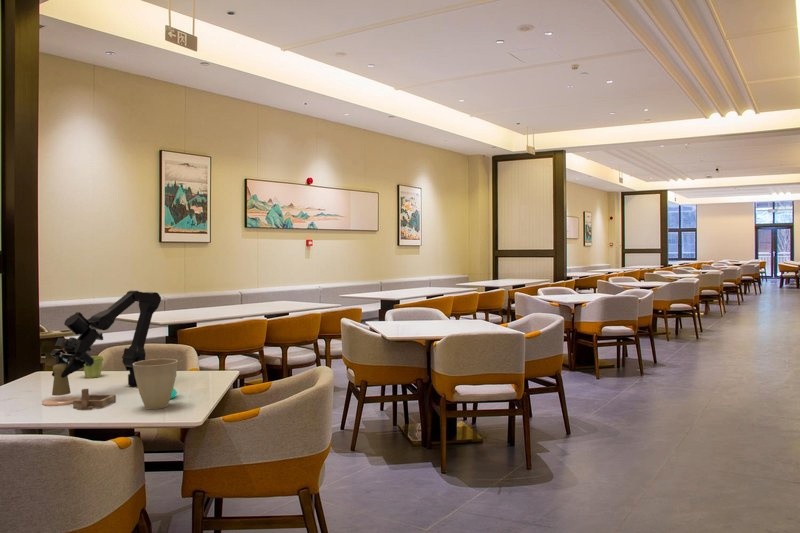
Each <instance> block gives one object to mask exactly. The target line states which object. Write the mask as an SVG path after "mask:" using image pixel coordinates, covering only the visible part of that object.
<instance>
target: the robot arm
mask: <svg viewBox="0 0 800 533" xmlns="http://www.w3.org/2000/svg"><path fill="white" fill-rule="evenodd" d="M161 301H162V296H160V294H159V293H158V292H154V291H145V292H143V291H140V290H129V291H127V292H126V294H124V295H123V296H122V297H120V299H118V300H117V301H115V302H114V303H113V304H111V306H109V307H108V308H107V309H104V310H102V311H99V312H97V313H95V314H93V315H92V316H90V317H89V318H88V319H87V318H86V317H85V316H84V315H83V313H81V312H80V311H79V312H77V311H76V312H75V313H74V314H72V315H70V316H69V317H67V318H66V320H65V321H64V323H63V324H64V326H65V327H66V328H67V329H68V330H70V332H72V333H73V334H74V335H76V336H78V337H77V338H76V337H69V338H66V337H58V338H57V340H56V342H55V345H54V346H55V347H59V348H61V349H57V348H54V349H52V350H51V352H50V353H49V354H50V355H51V357H53V358H54V359H55V364H54V365H56V364H67V367H66V368H65V370H64V371H63V373H62V375H61V377H62V378H64V377H66V376H68V377H69V375H71V374H73V373H75V372H77V371H79V370H81V369H84V367H85V366H84V364H86V366H89V367H91V366H92V365H93V364H94V359H93V358H92V357H91V354H89V353H90V352H91V351H92V348H91V347H92V346H93V345H94V343H95V342H96V341H103V340H104V336H103V333H102V332H98V331H107V330H109V329H110V328H111V327H112V325H113V324H114V323H115V320H116V319H117V317H118V316H119V315H121V314H122V313H123V312H125V311H126V310H127V309H128V308H130V307H131V306H132V305H133V304H134V303H136V302H138V308H139V315H138V319H137V324H136V326H135V330H134V334H133V338H132V341H131V344H130V346H129V347H128V348H124V349H123V355H122V356H121V359H122V363H123V365H124V367H125V370H126V371H129V373H128V374H127V385H128V386H129V388H135V387H137V383H136V379H135V375H134V369H133V363H135V362H139V361H144V360H146V351H145V344H146V340H147V336H148V333H149V330H150V325H151V321H152V318H153V315H154V313H155V312H156V311H157V310H158V308H159V307H160V305H161ZM88 352H89V353H88ZM51 376H52V377H53V378H54V372H53V371H52V372H51Z"/></svg>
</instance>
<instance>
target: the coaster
mask: <svg viewBox="0 0 800 533" xmlns="http://www.w3.org/2000/svg"><path fill="white" fill-rule="evenodd" d="M79 398H80V397H78V396H72V395H69V396H68V395H63V396H55V397H50V398H46V399H43V400H42V401H41V405H43V406H48V407H53V406H54V407H58V405H60V406H65V405H66V404H67V405H73V401H75V400H77V399H79ZM67 405H66V406H67Z"/></svg>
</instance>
